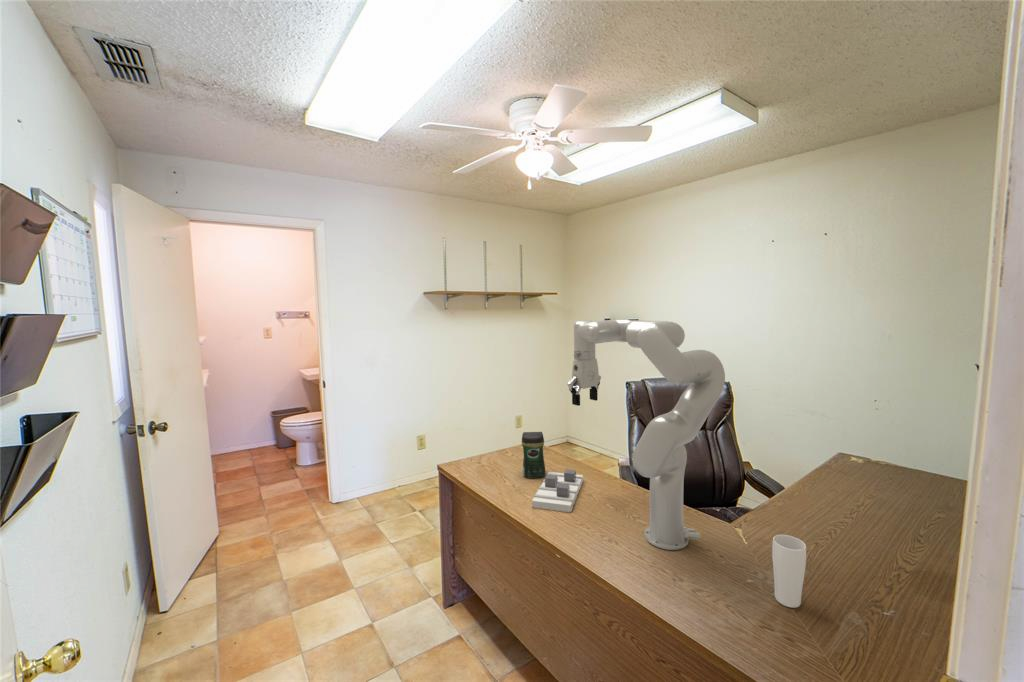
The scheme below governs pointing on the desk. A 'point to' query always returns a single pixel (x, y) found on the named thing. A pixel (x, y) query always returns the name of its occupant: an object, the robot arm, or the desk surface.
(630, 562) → the desk surface
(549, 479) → the tab
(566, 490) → the tab
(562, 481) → the switch board
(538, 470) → the coffee jar
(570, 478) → the tab
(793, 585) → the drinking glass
